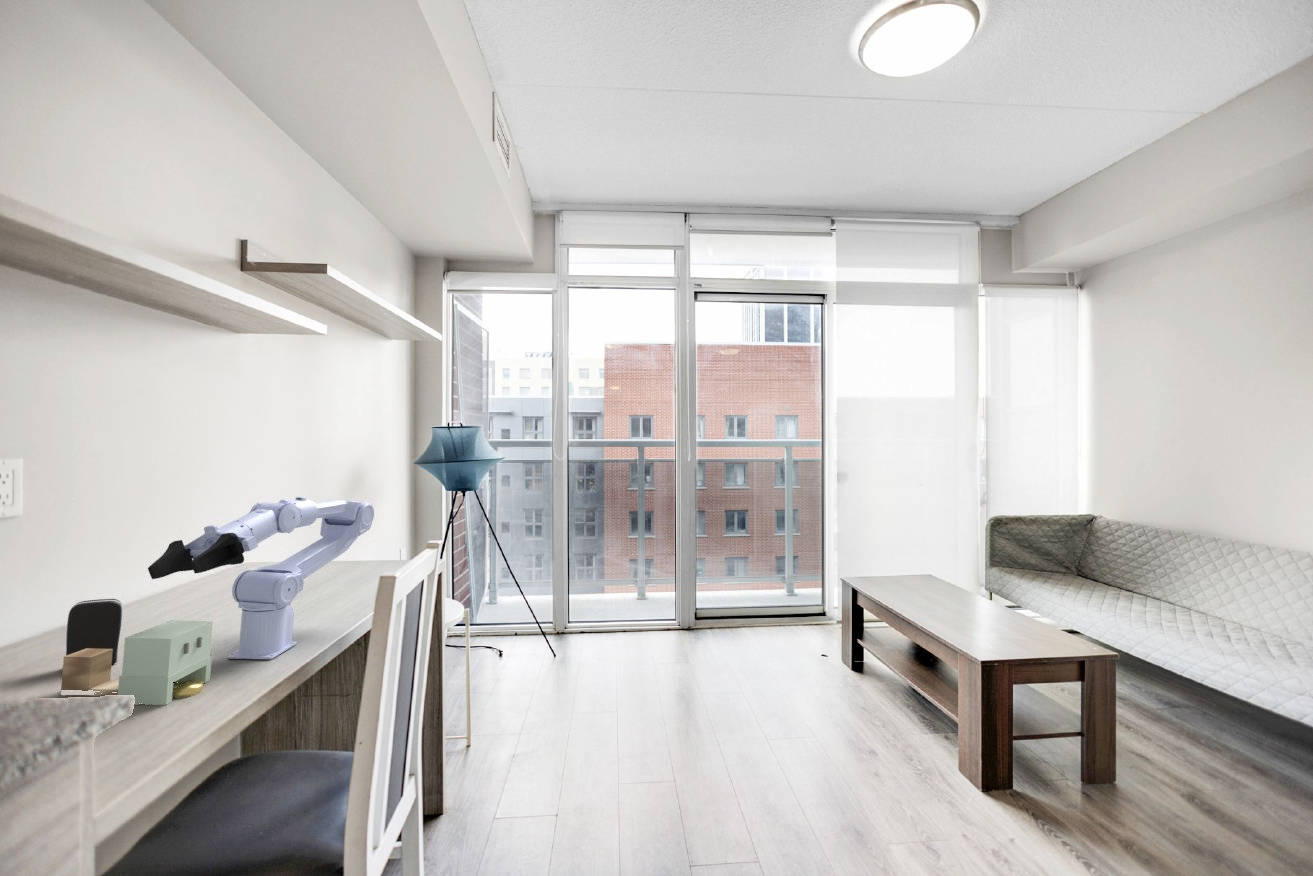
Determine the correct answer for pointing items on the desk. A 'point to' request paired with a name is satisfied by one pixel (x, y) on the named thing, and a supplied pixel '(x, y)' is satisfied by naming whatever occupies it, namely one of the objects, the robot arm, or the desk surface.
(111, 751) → the desk surface
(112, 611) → the battery charger
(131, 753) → the desk surface
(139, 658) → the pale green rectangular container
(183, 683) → the disc
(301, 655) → the desk surface
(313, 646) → the desk surface
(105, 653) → the wooden rectangular block
